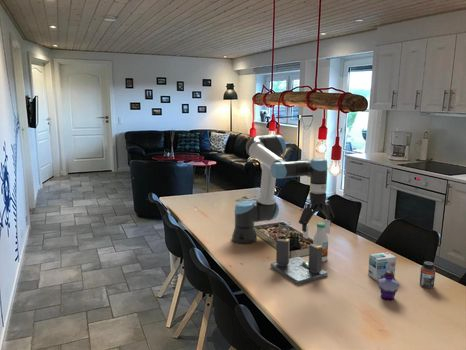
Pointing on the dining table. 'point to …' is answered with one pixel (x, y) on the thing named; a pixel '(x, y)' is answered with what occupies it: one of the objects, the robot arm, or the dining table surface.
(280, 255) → the yellow-tipped grey bar
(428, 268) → the supplement bottle
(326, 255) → the milk bottle
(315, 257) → the knob
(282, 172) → the robot arm
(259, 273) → the dining table surface
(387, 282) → the potion bottle
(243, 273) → the dining table surface
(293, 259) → the levelling plate
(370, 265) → the light bulb box
